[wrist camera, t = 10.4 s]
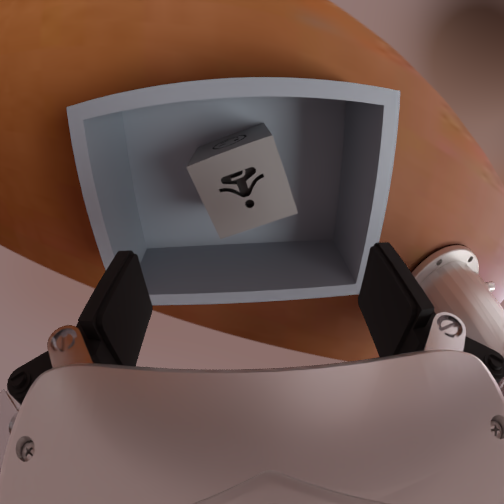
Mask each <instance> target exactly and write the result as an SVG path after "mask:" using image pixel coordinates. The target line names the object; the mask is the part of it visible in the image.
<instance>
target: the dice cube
mask: <svg viewBox="0 0 504 504" xmlns="http://www.w3.org/2000/svg"><path fill="white" fill-rule="evenodd" d="M186 168H187V170H188V172H189V174H190V176H191V178H192V181H193V183H194V185H195V187H196V189H197V191H198V193H199V195H200V198H201V200H202V202H203V204H204V206H205V208H206V210H207V212H208V214H209V216H210V219H211V221H212V223H213V225H214V227H215V229H216V231H217V233H218V235H219V237H220V239H223V238H226V237H229V236H231V235H234V234H237V233H240V232H243V231H246V230H249V229H252V228H255V227H258V226H261V225H264V224H267V223H270V222H273V221H276V220H279V219H282V218H285V217H288V216H291V215H294V214H297V213H298V211H297V208H296V205H295V202H294V199H293V195H292V192H291V189H290V186H289V183H288V180H287V177H286V174H285V171H284V168H283V165H282V162H281V159H280V156H279V153H278V150H277V147H276V144H275V141H274V138H273V135H272V134H271V132H270V131H269V130H268V128H267V127H266V125H265V124H264V123H262V124H259V125H256V126H253V127H250V128H248V129H245V130H242V131H239V132H236V133H234V134H231V135H228V136H226V137H223V138H220V139H218V140H215V141H213V142H210V143H207V144H205V145H202V146H200V147H198V148H197V149H196V151H195V153H194V154H193V156H192V158H191V160H190V161H189V163H188V165H187V167H186Z"/></svg>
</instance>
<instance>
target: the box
mask: <svg viewBox="0 0 504 504" xmlns="http://www.w3.org/2000/svg"><path fill="white" fill-rule="evenodd" d="M399 105H400V91H397V90H392V89H387V88H382V87H376V86H370V85H364V84H357V83H349V82H341V81H331V80H320V79H306V78H284V77H246V78H223V79H209V80H198V81H189V82H180V83H173V84H166V85H159V86H153V87H147V88H142V89H136V90H131V91H126V92H122V93H117V94H113V95H109V96H105V97H101V98H97V99H93V100H89V101H86V102H82V103H79V104H76V105H72V106H69V107H67V115H68V123H69V129H70V136H71V142H72V147H73V153H74V158H75V163H76V168H77V172H78V177H79V181H80V185H81V190H82V194H83V198H84V202H85V205H86V209H87V213H88V216H89V220H90V223H91V227H92V230H93V233H94V237H95V240H96V243H97V246H98V249H99V252H100V255H101V258H102V261H103V264H104V267H105V269H106V270H107V268H108V266H109V265H110V263H111V262H112V260H113V258H114V257H115V255H116V254H117V252H118V251H127V250H131V251H133V253H134V254H137V255H138V258H139V262H140V266H141V269H142V273H143V276H144V280H145V283H146V286H147V290H148V293H149V296H150V300H151V303H152V305H195V304H225V303H248V302H266V301H282V300H297V299H310V298H323V297H334V296H345V295H355V294H359V293H360V289H361V285H362V281H363V277H364V273H365V269H366V264H367V260H368V255H369V251H370V248H371V247H372V246H374V244H375V243H379V239H380V235H381V230H382V226H383V221H384V216H385V211H386V206H387V200H388V195H389V189H390V183H391V176H392V170H393V163H394V155H395V147H396V139H397V129H398V118H399ZM262 123H264V124H265V125H266V127H267V128H268V130H269V131H270V132H271V134H272V135H273V138H274V141H275V144H276V147H277V150H278V153H279V156H280V159H281V162H282V165H283V168H284V171H285V174H286V177H287V180H288V183H289V186H290V189H291V192H292V195H293V199H294V202H295V205H296V208H297V211H298V213H297V214H294V215H291V216H288V217H285V218H282V219H279V220H276V221H273V222H270V223H267V224H264V225H261V226H258V227H255V228H252V229H249V230H246V231H243V232H240V233H237V234H234V235H231V236H229V237H226V238H223V239H220V237H219V235H218V233H217V231H216V229H215V227H214V225H213V223H212V221H211V219H210V216H209V214H208V212H207V210H206V208H205V206H204V204H203V202H202V200H201V198H200V195H199V193H198V191H197V189H196V187H195V185H194V183H193V181H192V178H191V176H190V174H189V172H188V170H187V168H186V167H187V165H188V163H189V161H190V160H191V158H192V156H193V154H194V153H195V151H196V149H197V148H198V147H200V146H202V145H205V144H207V143H210V142H213V141H215V140H218V139H220V138H223V137H226V136H228V135H231V134H234V133H236V132H239V131H242V130H245V129H248V128H250V127H253V126H256V125H259V124H262Z"/></svg>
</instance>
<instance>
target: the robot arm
mask: <svg viewBox="0 0 504 504" xmlns="http://www.w3.org/2000/svg"><path fill="white" fill-rule="evenodd" d="M478 270H479V264H478V260H477V258H476V256H475V254H474V253H473V252H472V251H471V250H470V249H469V248H467V247H465V246H461V245H452V246H449V247H445V248H443V249H441V250H439V251H436V252H435V253H433V254H432V255H430V256H429V257H427V258H426V259H425V260H424V261H423V262H421V263H420V264H419V265H418V266H417V267H416V269H415V270H414V271H413V272H412V273H411V272H410V270H409V269H408V267H407V266H406V265H405V263H404V262H403V260H402V259H401V258H400V256H399V255H398V254H397V252H396V251H395V250H394V248H393V247H392V246H391V244H390V243H388V242H385V243H375V244H374V246H372V247H371V248H370V251H369V255H368V260H367V264H366V269H365V273H364V277H363V281H362V285H361V289H360V293H359V297H358V304H359V307H360V309H361V311H362V314H363V316H364V319H365V321H366V323H367V326H368V328H369V331H370V333H371V336H372V338H373V341H374V343H375V346H376V349H377V351H378V354H379V356H380V357H379V358H372V359H365V360H358V361H351V362H343V363H334V364H325V365H314V366H302V367H290V368H273V369H243V370H195V369H194V370H193V369H167V368H150V367H136V362H137V359H138V356H139V352H140V349H141V345H142V342H143V339H144V336H145V332H146V329H147V326H148V322H149V320H150V317H151V314H152V303H151V300H150V296H149V293H148V290H147V286H146V283H145V280H144V276H143V273H142V269H141V266H140V262H139V258H138V255H137V254H134V253H133V251H131V250H127V251H118V252H117V254H116V255H115V257H114V258H113V260H112V262H111V263H110V265H109V266H108V268H107V270H106V271H105V273H104V275H103V276H102V278H101V280H100V281H99V283H98V285H97V287H96V288H95V290H94V292H93V294H92V295H91V297H90V299H89V301H88V303H87V304H86V306H85V308H84V310H83V312H82V314H81V315H80V317H79V319H78V321H79V322H78V324H77V326H76V327H75V326H72V325H67V326H63V327H60V328H58V329H57V330H55V331H54V332H53V333H52V334H51V336H50V337H49V339H48V343H47V347H48V351H47V352H45V353H43V354H41V355H40V356H38V357H36V358H35V359H33V360H31V361H29V362H28V363H26V364H24V365H23V366H21V367H19V368H17V369H16V370H15V371H13V373H12V374H11V375H10V377H9V379H8V383H7V388H8V390H7V391H5V390H4V389H3V390H2V391H1V392H0V504H504V309H503V308H502V306H501V305H500V304H499V302H498V301H497V300H496V298H495V297H494V296H493V295H492V293H491V292H492V291H494V289H495V284H494V282H492V281H491V282H484V281H483V280H482V278H481V277H480V276H479V275H478Z"/></svg>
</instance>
